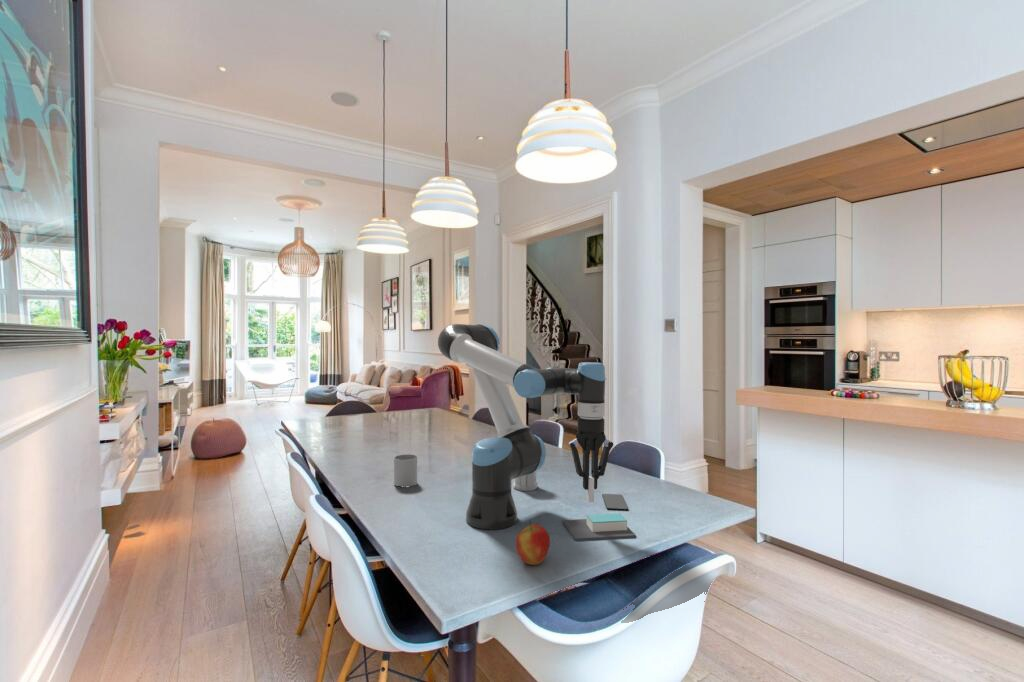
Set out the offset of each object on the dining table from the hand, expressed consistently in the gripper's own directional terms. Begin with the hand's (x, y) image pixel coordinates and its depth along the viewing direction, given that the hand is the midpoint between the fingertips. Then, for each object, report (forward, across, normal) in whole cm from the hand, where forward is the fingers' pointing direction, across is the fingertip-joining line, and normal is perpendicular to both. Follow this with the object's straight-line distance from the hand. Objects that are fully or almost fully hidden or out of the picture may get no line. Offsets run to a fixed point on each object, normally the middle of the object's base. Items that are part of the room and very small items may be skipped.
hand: (589, 500), depth 133 cm
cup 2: (+9, -12, +41) cm, 43 cm away
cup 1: (+9, -54, +50) cm, 74 cm away
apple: (+9, -20, -17) cm, 28 cm away
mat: (+8, +2, 0) cm, 9 cm away
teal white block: (+6, 0, 0) cm, 6 cm away
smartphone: (+9, +15, +21) cm, 27 cm away
